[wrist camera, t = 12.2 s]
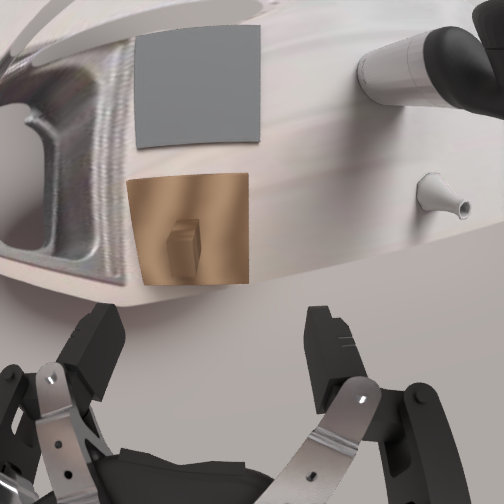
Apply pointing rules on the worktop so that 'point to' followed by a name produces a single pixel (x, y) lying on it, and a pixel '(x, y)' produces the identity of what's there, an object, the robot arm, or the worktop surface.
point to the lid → (191, 228)
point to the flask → (441, 196)
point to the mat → (197, 86)
